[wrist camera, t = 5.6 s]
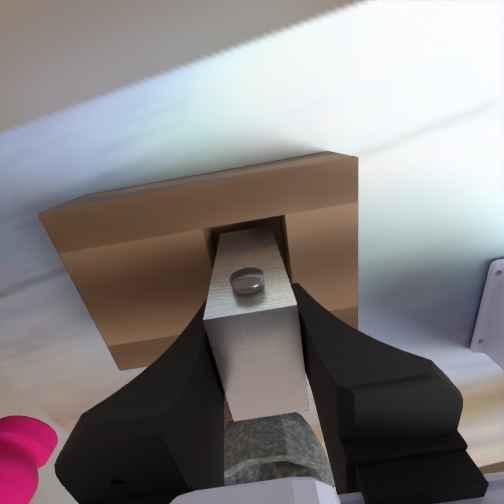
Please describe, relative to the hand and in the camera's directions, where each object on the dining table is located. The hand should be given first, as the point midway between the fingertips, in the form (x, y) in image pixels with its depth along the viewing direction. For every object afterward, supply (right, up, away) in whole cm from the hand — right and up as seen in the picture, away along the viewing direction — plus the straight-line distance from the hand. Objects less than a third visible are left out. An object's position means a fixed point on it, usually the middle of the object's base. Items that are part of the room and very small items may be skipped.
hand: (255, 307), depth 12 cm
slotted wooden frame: (-2, +3, +7) cm, 8 cm away
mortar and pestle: (+2, -13, +14) cm, 19 cm away
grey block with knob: (0, +2, +4) cm, 5 cm away
